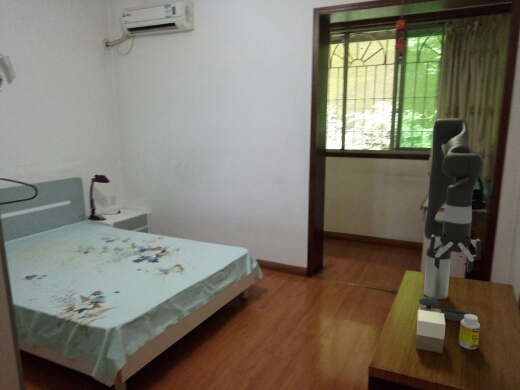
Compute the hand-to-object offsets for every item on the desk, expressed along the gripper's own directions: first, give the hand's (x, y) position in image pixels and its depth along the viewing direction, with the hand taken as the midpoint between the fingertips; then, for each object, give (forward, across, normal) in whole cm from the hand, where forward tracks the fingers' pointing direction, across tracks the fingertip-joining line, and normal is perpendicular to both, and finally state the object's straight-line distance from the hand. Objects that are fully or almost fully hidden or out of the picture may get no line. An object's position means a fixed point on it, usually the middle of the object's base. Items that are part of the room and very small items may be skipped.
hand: (452, 269), depth 122 cm
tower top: (+22, +5, -1) cm, 23 cm away
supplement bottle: (+28, -7, -5) cm, 29 cm away
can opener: (+28, -1, -24) cm, 37 cm away
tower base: (+28, +5, -1) cm, 28 cm away
